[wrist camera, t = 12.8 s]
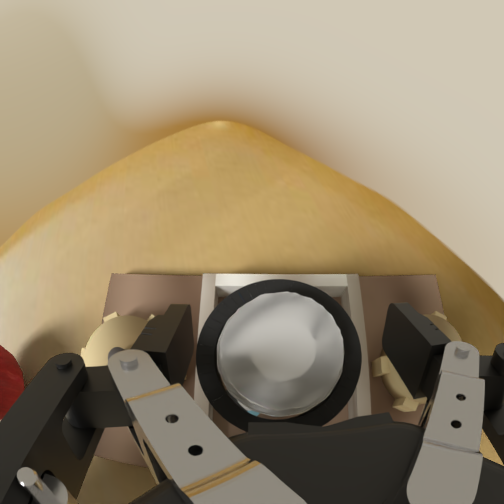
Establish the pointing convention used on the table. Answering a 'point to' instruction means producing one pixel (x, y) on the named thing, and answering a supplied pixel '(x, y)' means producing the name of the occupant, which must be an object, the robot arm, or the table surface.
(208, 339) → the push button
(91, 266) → the table surface
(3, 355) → the onion
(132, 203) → the table surface
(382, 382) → the gear board
